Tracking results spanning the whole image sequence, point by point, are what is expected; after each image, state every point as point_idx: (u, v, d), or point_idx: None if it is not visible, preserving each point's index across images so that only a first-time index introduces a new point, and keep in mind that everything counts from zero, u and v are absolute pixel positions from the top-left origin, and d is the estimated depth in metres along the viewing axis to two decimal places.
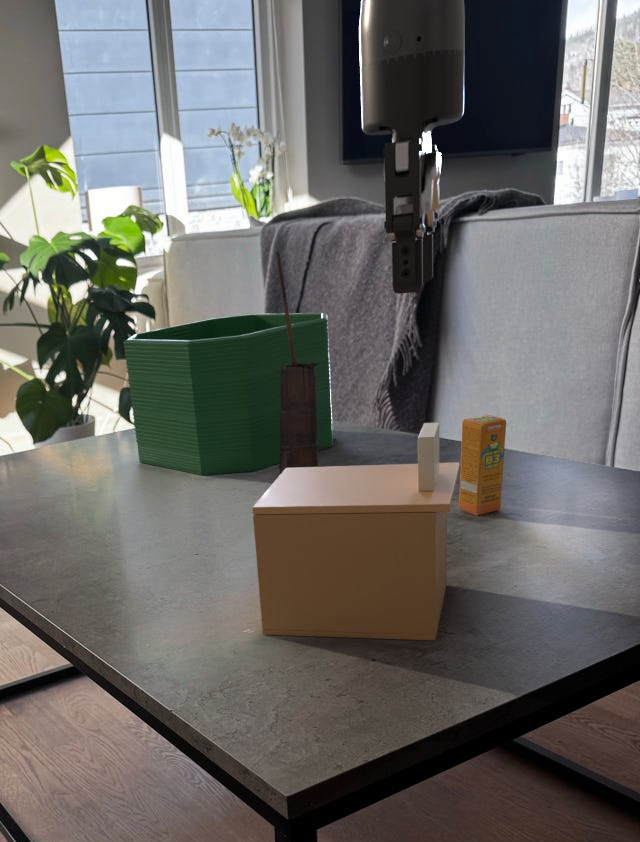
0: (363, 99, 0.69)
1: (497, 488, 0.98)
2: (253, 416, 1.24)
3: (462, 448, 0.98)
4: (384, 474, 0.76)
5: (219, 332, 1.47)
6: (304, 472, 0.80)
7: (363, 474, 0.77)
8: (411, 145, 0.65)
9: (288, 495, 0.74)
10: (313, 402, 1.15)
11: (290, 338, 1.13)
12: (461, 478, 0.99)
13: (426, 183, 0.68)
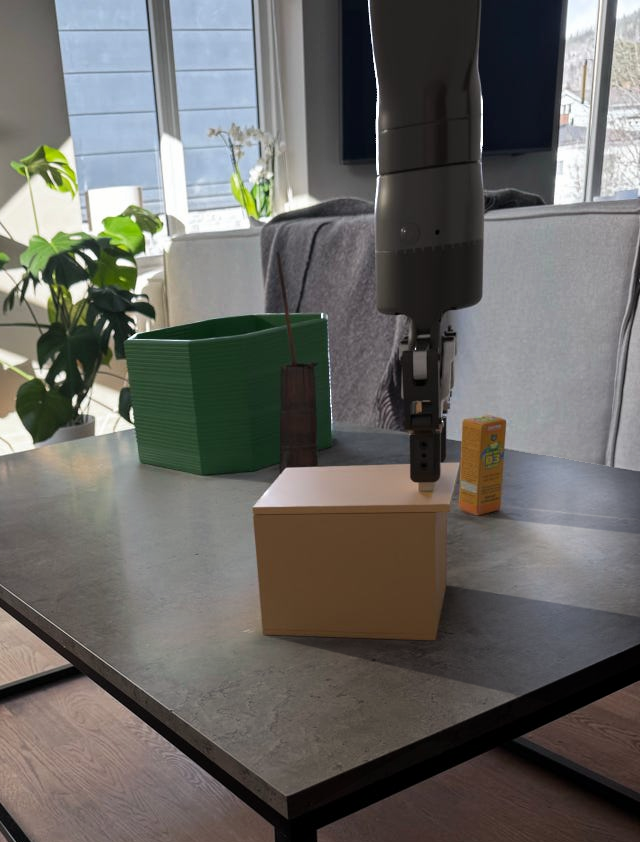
0: (378, 281, 0.66)
1: (497, 488, 0.98)
2: (253, 416, 1.24)
3: (462, 448, 0.98)
4: (385, 474, 0.76)
5: (219, 332, 1.47)
6: (304, 472, 0.80)
7: (363, 474, 0.77)
8: (429, 358, 0.63)
9: (288, 495, 0.74)
10: (313, 402, 1.15)
11: (290, 338, 1.13)
12: (461, 478, 0.99)
13: (444, 375, 0.67)
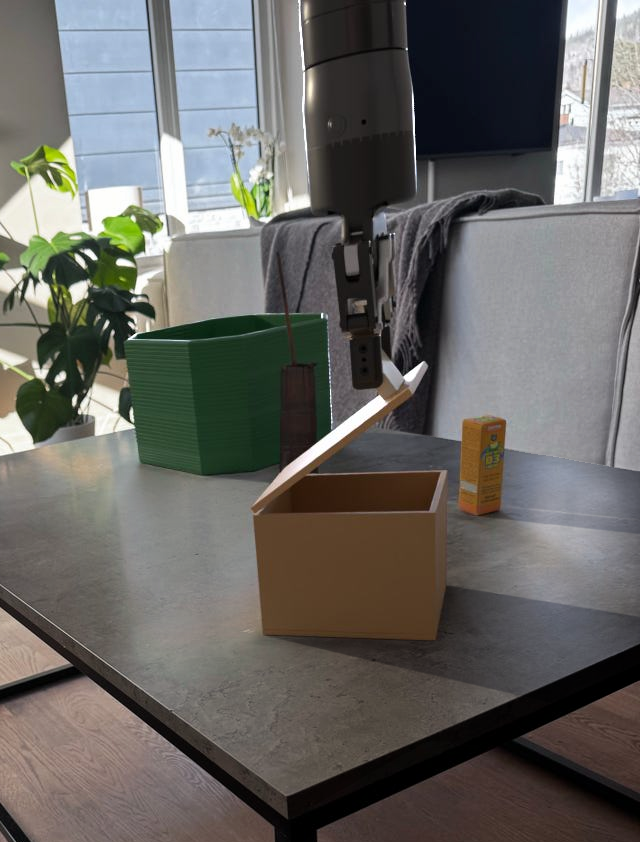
0: (310, 182, 0.65)
1: (497, 488, 0.98)
2: (253, 416, 1.24)
3: (462, 448, 0.98)
4: (360, 413, 0.75)
5: (219, 332, 1.47)
6: (297, 459, 0.80)
7: (343, 426, 0.76)
8: (360, 251, 0.61)
9: (280, 480, 0.74)
10: (313, 402, 1.15)
11: (290, 338, 1.13)
12: (461, 478, 0.99)
13: (380, 275, 0.65)
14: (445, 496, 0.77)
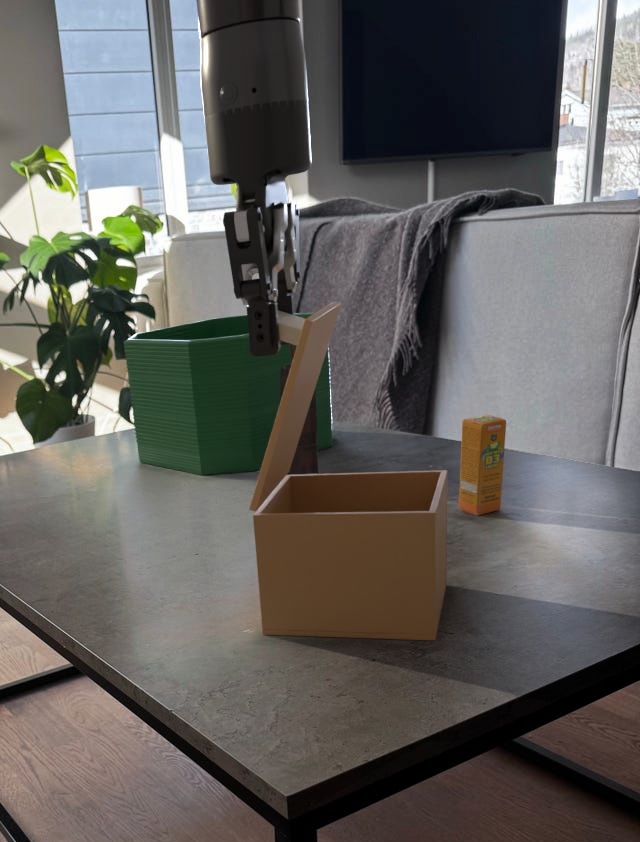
0: (208, 149, 0.67)
1: (497, 488, 0.98)
2: (253, 416, 1.24)
3: (462, 448, 0.98)
4: None
5: (219, 332, 1.47)
6: None
7: None
8: (249, 217, 0.63)
9: None
10: (313, 402, 1.15)
11: None
12: (461, 478, 0.99)
13: (275, 243, 0.67)
14: (445, 496, 0.77)
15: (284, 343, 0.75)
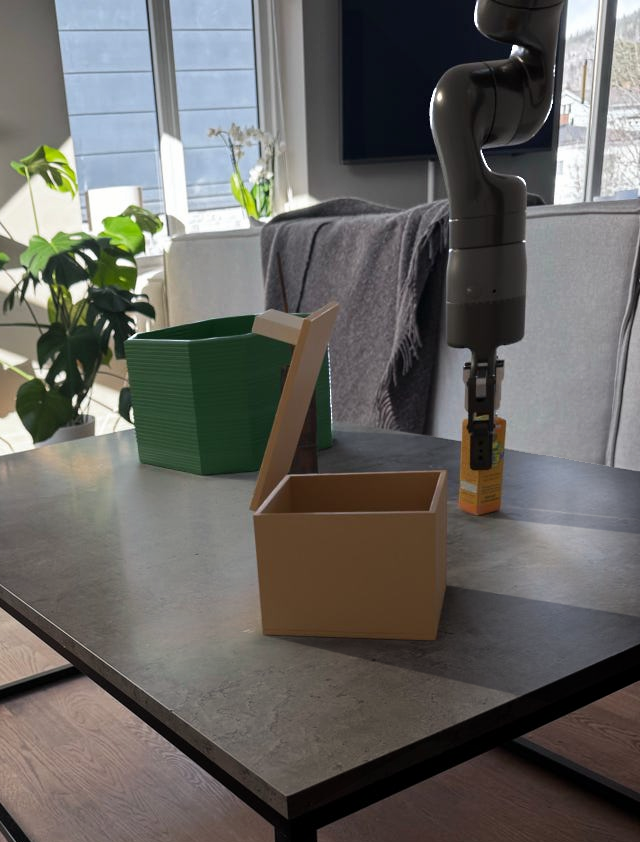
0: (448, 324, 0.92)
1: (497, 488, 0.98)
2: (253, 416, 1.24)
3: (462, 448, 0.98)
4: None
5: (219, 332, 1.47)
6: None
7: None
8: (488, 383, 0.88)
9: None
10: (313, 402, 1.15)
11: None
12: (461, 478, 0.99)
13: (496, 393, 0.92)
14: (445, 496, 0.77)
15: None
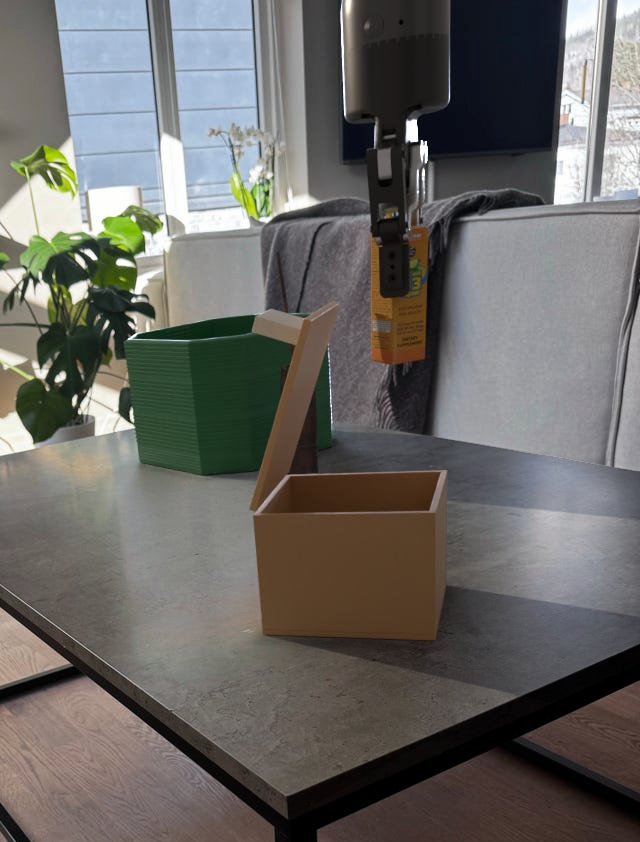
0: (345, 86, 0.66)
1: (419, 327, 0.73)
2: (253, 416, 1.24)
3: (372, 273, 0.72)
4: None
5: (219, 332, 1.47)
6: None
7: None
8: (393, 155, 0.63)
9: None
10: (313, 402, 1.15)
11: None
12: (372, 316, 0.74)
13: (411, 182, 0.67)
14: (445, 496, 0.77)
15: None
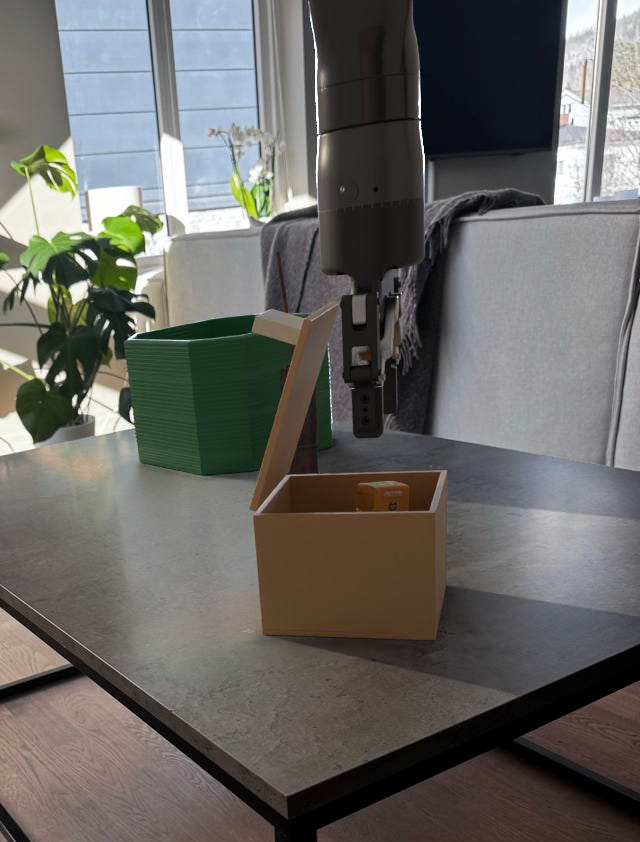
0: (321, 242, 0.67)
1: None
2: (253, 416, 1.24)
3: None
4: None
5: (219, 332, 1.47)
6: None
7: None
8: (368, 299, 0.62)
9: None
10: (313, 402, 1.15)
11: None
12: None
13: (386, 330, 0.66)
14: (445, 496, 0.77)
15: (386, 413, 0.76)
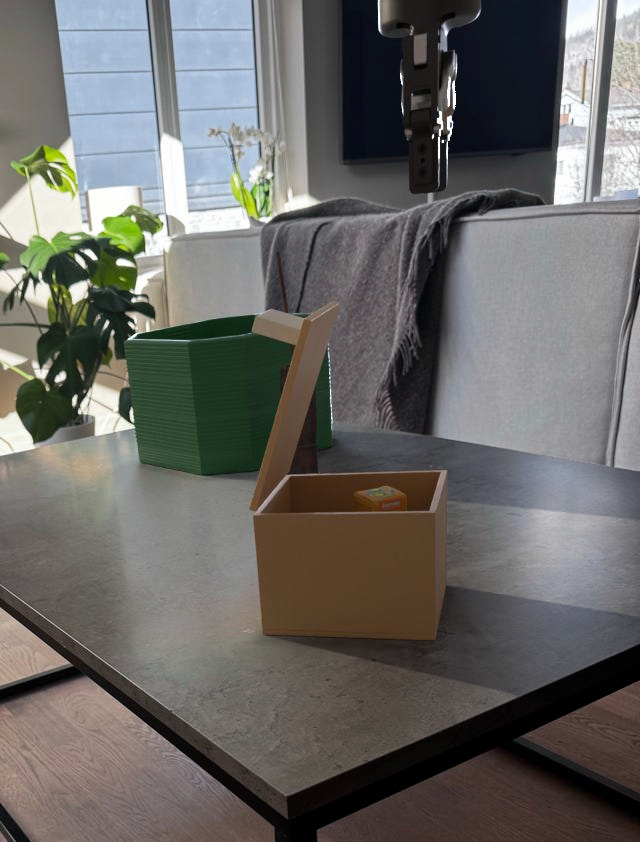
0: None
1: None
2: (253, 416, 1.24)
3: None
4: None
5: (219, 332, 1.47)
6: None
7: None
8: (429, 36, 0.65)
9: None
10: (313, 402, 1.15)
11: None
12: None
13: (443, 80, 0.69)
14: (445, 496, 0.77)
15: (436, 190, 0.78)
